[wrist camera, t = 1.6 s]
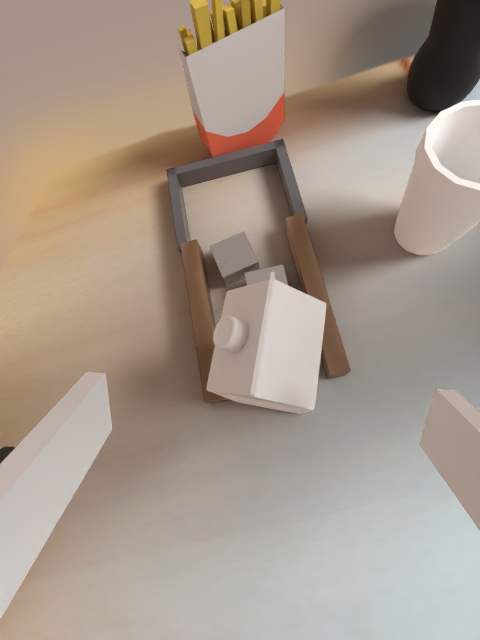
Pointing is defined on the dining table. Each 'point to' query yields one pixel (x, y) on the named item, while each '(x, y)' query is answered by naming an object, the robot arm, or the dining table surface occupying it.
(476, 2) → the cola bottle
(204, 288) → the channel
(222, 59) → the french fries container
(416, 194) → the foam cup
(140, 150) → the dining table surface
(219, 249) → the chip
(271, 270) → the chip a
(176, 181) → the grey u-shaped frame
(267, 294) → the milk carton
